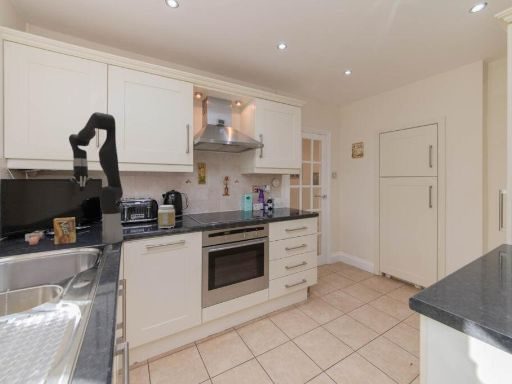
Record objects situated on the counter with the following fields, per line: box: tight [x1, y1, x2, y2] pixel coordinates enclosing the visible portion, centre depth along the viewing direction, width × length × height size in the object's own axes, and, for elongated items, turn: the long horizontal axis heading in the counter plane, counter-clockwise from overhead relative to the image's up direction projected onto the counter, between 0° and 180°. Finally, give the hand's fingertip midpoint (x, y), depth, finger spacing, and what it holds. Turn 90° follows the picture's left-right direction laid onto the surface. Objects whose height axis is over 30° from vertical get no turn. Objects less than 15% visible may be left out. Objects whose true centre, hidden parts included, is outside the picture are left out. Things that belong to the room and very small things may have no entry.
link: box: [28, 231, 43, 246], centre depth 132 cm, size 22×5×3 cm, turn 39°
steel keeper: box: [24, 230, 44, 242], centre depth 135 cm, size 10×11×4 cm
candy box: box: [53, 216, 77, 246], centre depth 128 cm, size 9×4×15 cm, turn 122°
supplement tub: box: [157, 204, 176, 229], centre depth 177 cm, size 12×12×17 cm
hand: (81, 192), depth 150 cm, fingers closed
